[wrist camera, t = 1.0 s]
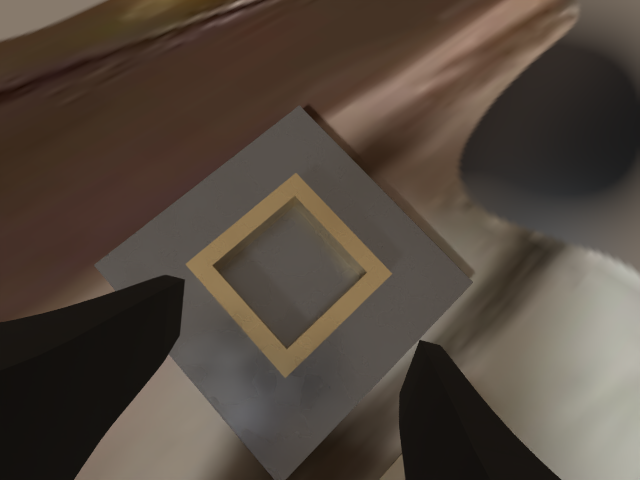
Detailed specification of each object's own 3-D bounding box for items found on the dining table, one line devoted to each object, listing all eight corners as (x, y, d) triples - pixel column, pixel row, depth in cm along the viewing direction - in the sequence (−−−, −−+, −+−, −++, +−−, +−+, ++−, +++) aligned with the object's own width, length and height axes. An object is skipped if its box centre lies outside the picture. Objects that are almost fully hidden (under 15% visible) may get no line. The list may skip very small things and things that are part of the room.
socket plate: (465, 284, 25) (489, 278, 22) (279, 478, 21) (278, 502, 18) (298, 113, 26) (300, 86, 23) (102, 267, 23) (75, 259, 20)
